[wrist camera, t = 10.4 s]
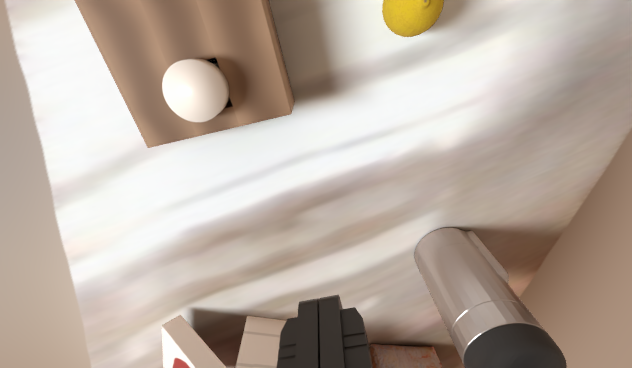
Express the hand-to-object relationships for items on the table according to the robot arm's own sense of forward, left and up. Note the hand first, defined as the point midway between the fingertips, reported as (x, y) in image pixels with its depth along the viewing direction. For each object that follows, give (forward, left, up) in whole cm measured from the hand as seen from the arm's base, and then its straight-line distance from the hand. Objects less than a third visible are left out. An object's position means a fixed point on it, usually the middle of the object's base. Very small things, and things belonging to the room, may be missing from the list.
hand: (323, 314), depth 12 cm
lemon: (-12, -10, -31) cm, 34 cm away
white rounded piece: (+10, -7, -30) cm, 32 cm away
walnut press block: (+10, -13, -30) cm, 34 cm away
